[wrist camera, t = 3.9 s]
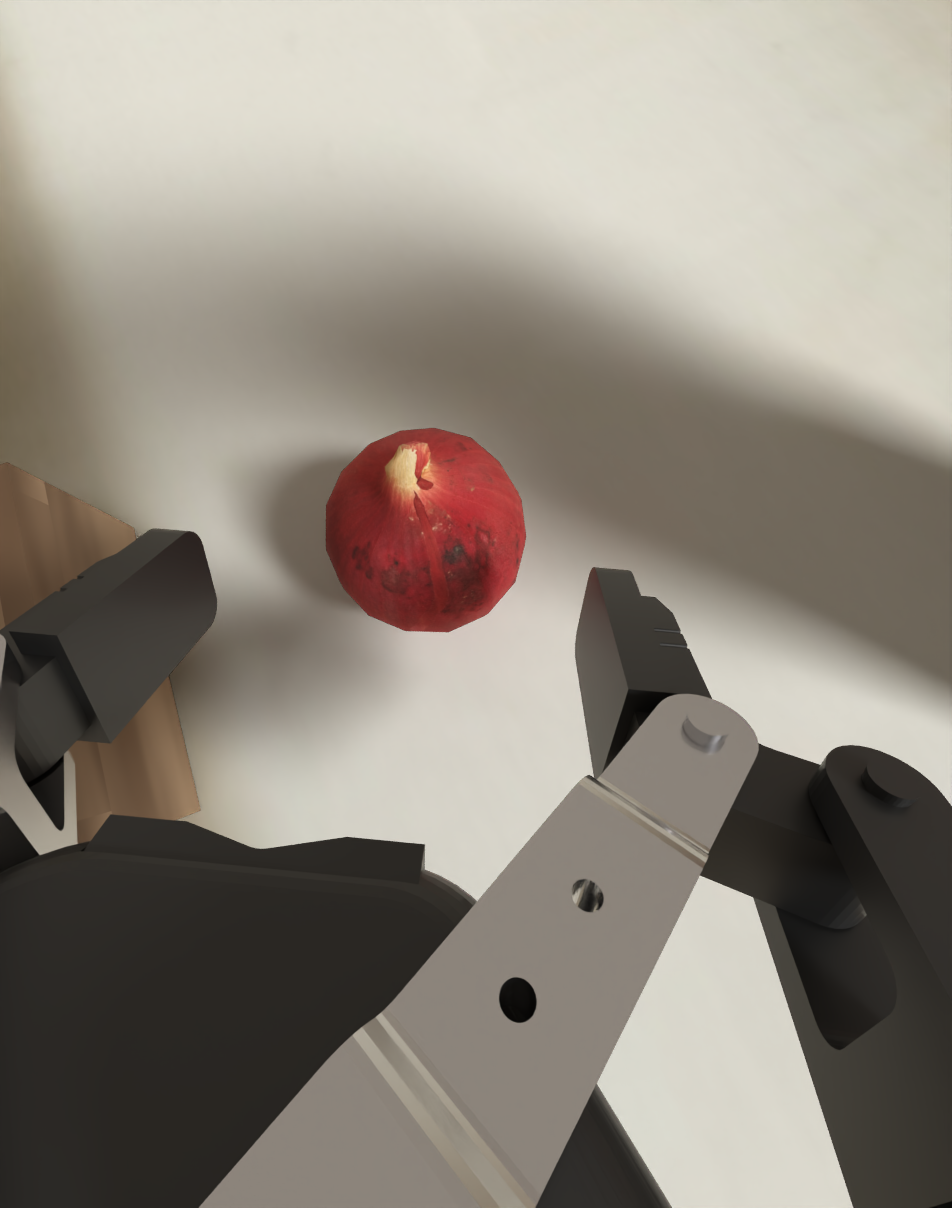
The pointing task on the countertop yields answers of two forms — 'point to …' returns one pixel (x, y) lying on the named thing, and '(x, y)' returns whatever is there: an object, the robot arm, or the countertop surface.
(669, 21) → the countertop surface
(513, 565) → the onion
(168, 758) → the wooden tray
